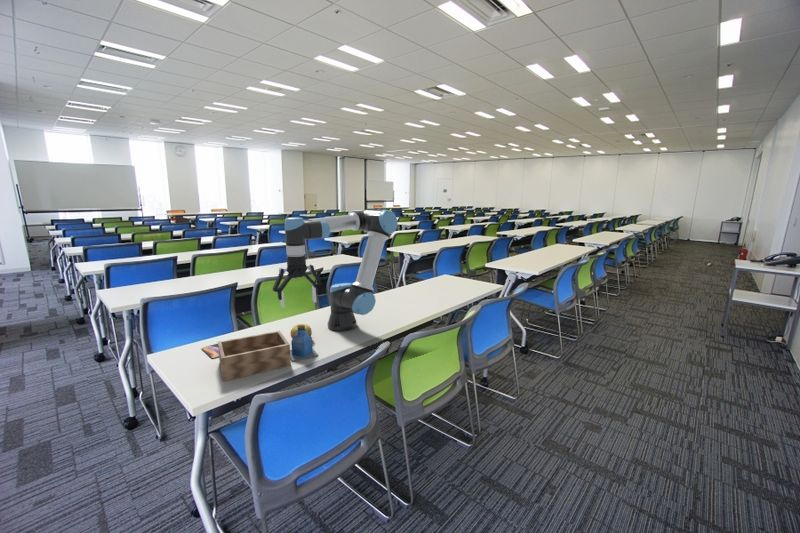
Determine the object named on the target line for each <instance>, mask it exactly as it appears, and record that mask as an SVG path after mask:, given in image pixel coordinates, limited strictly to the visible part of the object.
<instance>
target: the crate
mask: <svg viewBox="0 0 800 533" xmlns="http://www.w3.org/2000/svg"><path fill="white" fill-rule="evenodd" d="M217 344H218V350H219V358H218V361H219V365H220V371H221V376H222V380H223V381H222V382H227V381H230V380H236V379H240V378H244V377H248V376H252V375H256V374H260V373H263V372H264V373H266V372H269V371H274V370H278V369H282V368H286V367H289V366H292V363H291V362H292V361H291V359H290V350H291V346H290V343H289V341H288V340H287V338H285V336H284V334H283V333H282V332H281V331H280V330H276V331H271V332H270V331H269V332H266V333H264V332H263V333H259V334H254V335H249V336H243V337H238V338H232V339H226V340H222V341H221V340H220V341H217Z"/></svg>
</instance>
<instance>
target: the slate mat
mask: <svg viewBox="0 0 800 533" xmlns="http://www.w3.org/2000/svg"><path fill="white" fill-rule="evenodd" d="M316 357H319V354H318V352H316V350H315V349H314V348H313V347H312V351H311V352H310V353H309V354H308V355H306V356H305V357H303V356H297V355H292V349H290V359H291V362H292V363H295V362H299V361H304V360H308V359H311V358H316Z"/></svg>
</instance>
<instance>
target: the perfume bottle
mask: <svg viewBox="0 0 800 533" xmlns="http://www.w3.org/2000/svg"><path fill="white" fill-rule="evenodd" d="M297 328H298V329H297V332H298V333H297V334H296V335H295V336H294V337H293V339H292V338H291V342H290V343H291V350H292V355H297V356H303V357H305V356H306V355H308V354H309V353H310V352H311V351H312V348H313V337H312V335H311V336H310V335H309V333H306V332H305V331H306V330H305V326H304V325H300V326H297Z"/></svg>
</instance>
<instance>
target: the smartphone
mask: <svg viewBox="0 0 800 533" xmlns="http://www.w3.org/2000/svg"><path fill="white" fill-rule="evenodd" d="M200 350H201V351H203V353H204V354H205V355H207V356H208V358H210V359H211V360H215V359H219V350H218V343H215V344H211V345H207V346H204V347H202V348H200Z"/></svg>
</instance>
